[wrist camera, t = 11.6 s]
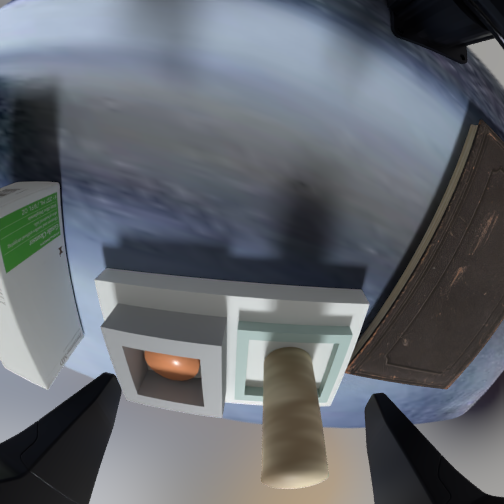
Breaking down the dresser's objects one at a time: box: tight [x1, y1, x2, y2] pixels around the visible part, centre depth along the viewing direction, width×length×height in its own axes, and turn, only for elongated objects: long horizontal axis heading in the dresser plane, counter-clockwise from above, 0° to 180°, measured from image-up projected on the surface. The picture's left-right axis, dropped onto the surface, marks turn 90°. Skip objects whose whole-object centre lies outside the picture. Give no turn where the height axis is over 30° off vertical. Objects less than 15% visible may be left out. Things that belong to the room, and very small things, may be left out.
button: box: [145, 351, 200, 381], centre depth 20 cm, size 4×4×1 cm
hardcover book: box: [345, 119, 504, 389], centre depth 19 cm, size 16×23×2 cm
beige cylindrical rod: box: [261, 347, 329, 489], centre depth 16 cm, size 4×4×10 cm
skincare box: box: [0, 181, 84, 390], centre depth 17 cm, size 8×7×16 cm
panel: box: [95, 268, 369, 418], centre depth 20 cm, size 20×12×5 cm, turn 86°
